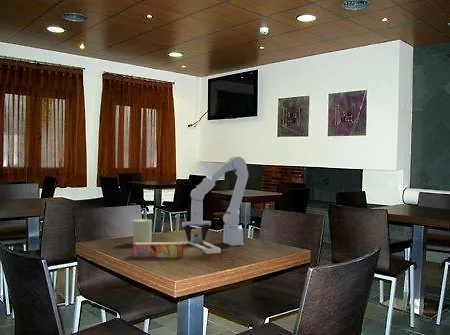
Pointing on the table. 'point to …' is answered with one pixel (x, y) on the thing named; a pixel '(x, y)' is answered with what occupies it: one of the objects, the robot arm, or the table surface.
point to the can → (142, 230)
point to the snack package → (158, 250)
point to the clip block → (196, 239)
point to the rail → (205, 250)
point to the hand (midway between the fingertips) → (196, 240)
